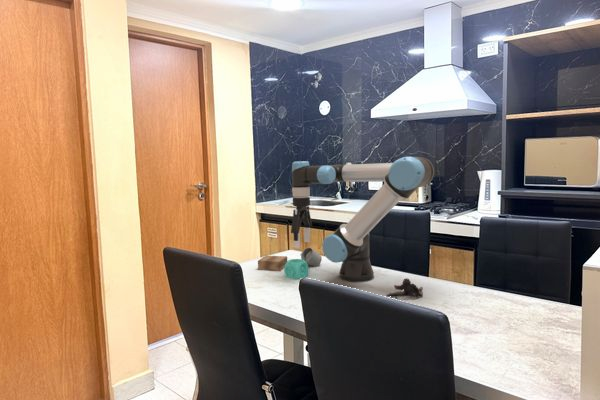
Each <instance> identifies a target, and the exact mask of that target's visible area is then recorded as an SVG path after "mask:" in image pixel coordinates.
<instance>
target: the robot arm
mask: <svg viewBox="0 0 600 400" xmlns="http://www.w3.org/2000/svg"><path fill="white" fill-rule="evenodd" d="M434 175H435V167H434V165H433V163H432V161H430V160H429V159H428V158H426V157H423V156H403V157H400V158H398V159H397V160H395V161H393V162H382V163H381V162H379V163H359V164H358V163H351V164H327V165H310V162H309V161H308V160H307V161H306V160H305V161H304V160H303V161H301V160H299V161H293V162H292V165H291V176H292V177H291V179H292V182H291V183H292V189H291V192H292V206H293V207H296V209H293V214H292V215H293V216H292V222H291V227H290V228H291V229H290V233H291V234H292V235H293V237H292V239H293V242H292V243H293V249H300V248H301V234H300V229H301V226H302V225H301V224H302V223H303V226H304V228H303V241H304V243H311V228H313V224H312V223H313V222H312V218H311V213H310V205H311V197H310V196H311V191H310V190H311V187H310V185H311V184H319V185H320V184H322V185H328V184H329V185H330V184H333V183H346V182H347V183H348V182H349V183H350V182H353V183H355V182H356V183H357V182H361V183H363V182H365V183H366V182H367V183H368V182H371V183H372V182H374V183H375V182H377V183H378V182H384V183H383V185H381V186H380V188H379V189H377V191H376V192H375V193H374V194H373V195H372V196H371V198H369V200H367V202H366V203H365V204H364V205H363V206H362V207H361V208H360V210H359V211H357V213H355V215H354V216H353V217H352V218H350V220H349V221H348V222H347V223H342V224H340V225H339V227H338V228H337V229H335V231H333V232H332V233H330V234H328V235H327V236H325V237H324V239H323V241H322V252H323V254H324V256H325V258H326V259H328V261H330V262H331V263H336V264H337V263H341V265H340V269H339V274H338V275H339V279H340V280H342V281H345V282H350V283H351V282H353V283H356V282H357V283H359V282H360V283H362V282H363V283H364V282H369V281H371V280H373V279H374V278H375V275H374V274H375V273H374V270H373V267H372V264H371V260H370V232H371V231H372V230H373V229H374V228H375V227H376V226H377V224H379V222H380V221H381V220H382V219H383V218H384V217H386V215H388V214H389V212H390V211H392V209H393V208H394V207H395V206H396V205H397V204H398V203H399V202H400V201H401V200H402V199H403V200H404V199H409V198H410V197H411V196H412V195H413V194H414V193H415V192H416V191H417V190H418V189H419V188H422V187H425V186H427V185H429V184H430V183H431V182H432V180H433V178H434Z"/></svg>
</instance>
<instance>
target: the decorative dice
mask: <svg viewBox="0 0 600 400" xmlns="http://www.w3.org/2000/svg"><path fill="white" fill-rule="evenodd" d="M309 269H310V268H309V264H307V263H306V261H305V260H303V259H301V258H292V259H289V260H288V259H287V263H286V264H285V267H284V269H283V271H284V275H285V277H286V278H287V279H292V280H301V279H300V278H302V279H304V278H303V277H305V278H307V277H308V276H309V272H310V270H309Z"/></svg>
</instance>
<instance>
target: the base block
mask: <svg viewBox="0 0 600 400" xmlns="http://www.w3.org/2000/svg"><path fill="white" fill-rule="evenodd" d="M287 261H288V256H287V255H285V256H283V255H281V256H280V255H264V256H263V257H261V258H260V259H258V260H257V270H258V271H265V272H266V271H267V272H268V271H270V272H278V273H279V272H281V271H284V267H285V264H286V263H287Z"/></svg>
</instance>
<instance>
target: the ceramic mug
mask: <svg viewBox="0 0 600 400" xmlns="http://www.w3.org/2000/svg"><path fill="white" fill-rule="evenodd" d="M299 255H300V259H303V260H305V261H306V263H307V264H308V266H311V267H318V266H319V265H320V264H321V263H322V259H323V257H322V255H321V254H320V253H319V252H317V250H315V249H314V248H313V247H309V246H308V247H306V248H305V249H303V251H301V253H300V254H299Z"/></svg>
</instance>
